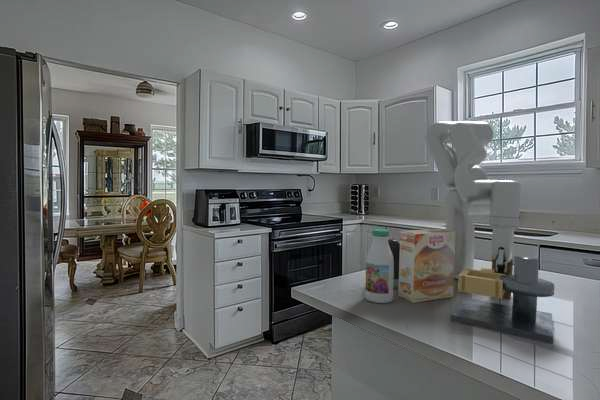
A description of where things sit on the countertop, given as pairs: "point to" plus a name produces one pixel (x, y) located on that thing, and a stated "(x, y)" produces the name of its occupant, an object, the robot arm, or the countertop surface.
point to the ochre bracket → (481, 282)
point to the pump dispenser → (395, 260)
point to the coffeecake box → (426, 264)
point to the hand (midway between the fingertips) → (501, 283)
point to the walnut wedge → (509, 270)
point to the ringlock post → (513, 305)
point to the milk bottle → (379, 269)
